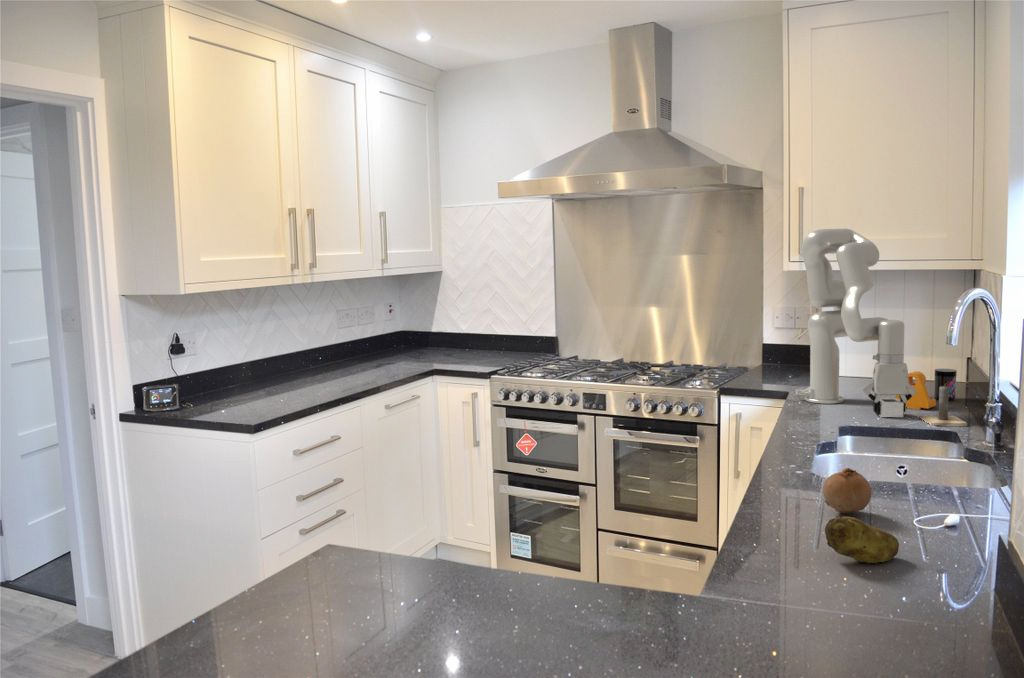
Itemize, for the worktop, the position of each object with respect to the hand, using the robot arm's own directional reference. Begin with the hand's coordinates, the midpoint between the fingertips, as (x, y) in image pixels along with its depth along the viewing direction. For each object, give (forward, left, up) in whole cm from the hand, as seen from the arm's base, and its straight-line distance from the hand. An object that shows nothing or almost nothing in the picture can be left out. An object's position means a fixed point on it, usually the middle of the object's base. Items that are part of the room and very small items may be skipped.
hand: (889, 413), depth 254 cm
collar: (0, 0, -1) cm, 1 cm away
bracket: (+12, +14, -1) cm, 18 cm away
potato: (-37, -120, -1) cm, 126 cm away
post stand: (+13, -9, -1) cm, 16 cm away
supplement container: (+25, +26, -1) cm, 36 cm away
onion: (-34, -95, -1) cm, 101 cm away
